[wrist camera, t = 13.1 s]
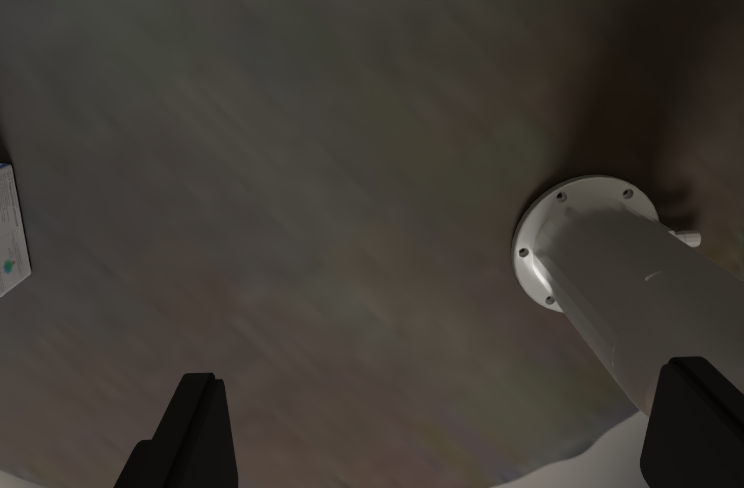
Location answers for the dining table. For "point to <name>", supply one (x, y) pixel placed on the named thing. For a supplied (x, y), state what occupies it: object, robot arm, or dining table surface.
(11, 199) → the ink cartridge box
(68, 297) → the dining table surface
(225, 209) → the dining table surface
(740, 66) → the dining table surface
